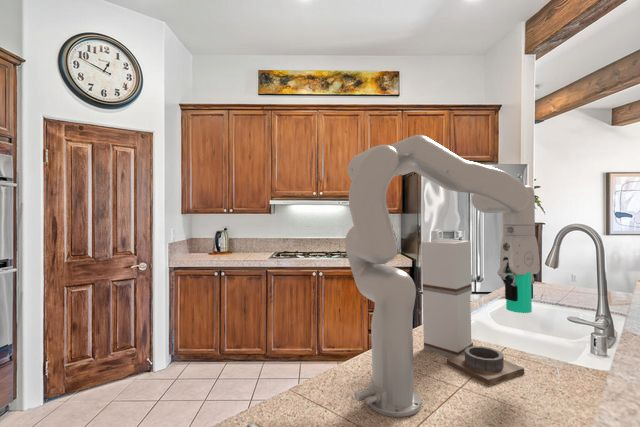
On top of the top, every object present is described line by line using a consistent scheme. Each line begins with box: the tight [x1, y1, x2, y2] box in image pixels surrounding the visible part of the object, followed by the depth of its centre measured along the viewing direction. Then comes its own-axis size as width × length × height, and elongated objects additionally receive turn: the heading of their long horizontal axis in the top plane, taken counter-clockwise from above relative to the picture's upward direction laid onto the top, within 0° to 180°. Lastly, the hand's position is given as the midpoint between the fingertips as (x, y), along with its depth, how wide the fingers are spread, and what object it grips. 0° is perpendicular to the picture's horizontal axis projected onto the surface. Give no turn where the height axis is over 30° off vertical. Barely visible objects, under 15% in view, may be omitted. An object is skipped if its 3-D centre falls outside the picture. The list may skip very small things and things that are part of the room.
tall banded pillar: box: [420, 239, 474, 358], centre depth 109 cm, size 11×11×35 cm
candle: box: [505, 272, 533, 314], centre depth 91 cm, size 6×6×12 cm
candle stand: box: [446, 345, 525, 386], centre depth 95 cm, size 14×14×4 cm
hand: (519, 298), depth 91 cm, fingers closed on candle, 5 cm apart
